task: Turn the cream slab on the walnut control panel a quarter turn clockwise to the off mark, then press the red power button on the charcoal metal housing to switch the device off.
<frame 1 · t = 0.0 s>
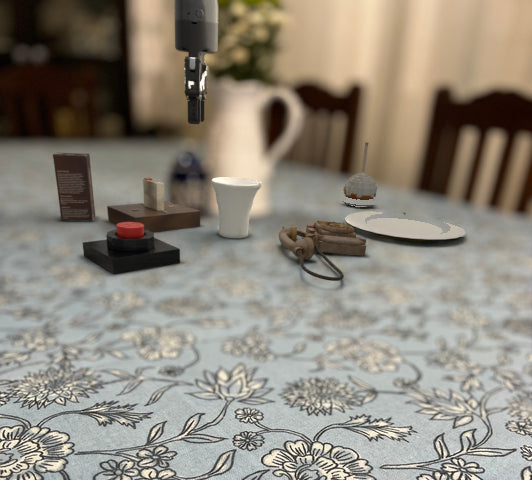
hand: (196, 122, 97), 18 cm above the table, tool pointing down, fingers open, 8 cm apart
cup: (235, 235, 97), on the table
plate: (403, 231, 109), on the table
button: (130, 230, 77), point 4 cm above the table, slide at 0.1 cm
box: (78, 220, 101), on the table
grey candy apple: (358, 206, 132), on the table
housing: (132, 259, 79), on the table
panel: (154, 224, 101), on the table
cream slab: (153, 194, 98), point 6 cm above the table, hinge at 90.0°
telephone: (322, 255, 89), on the table
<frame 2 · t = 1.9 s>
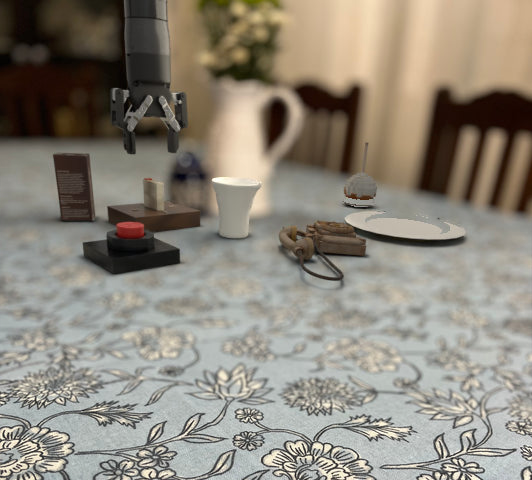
hand: (152, 153, 95), 13 cm above the table, tool pointing down, fingers open, 8 cm apart
nothing on the table moved.
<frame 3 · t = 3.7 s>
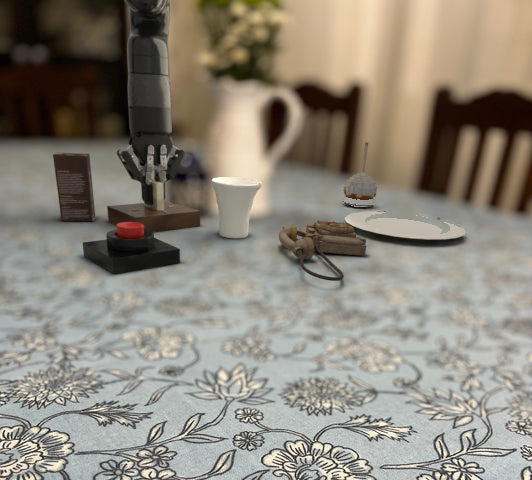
hand: (153, 203, 99), 4 cm above the table, tool pointing down, fingers closed
cream slab: (153, 194, 98), point 6 cm above the table, hinge at 89.9°, touching gripper
everything else where it was.
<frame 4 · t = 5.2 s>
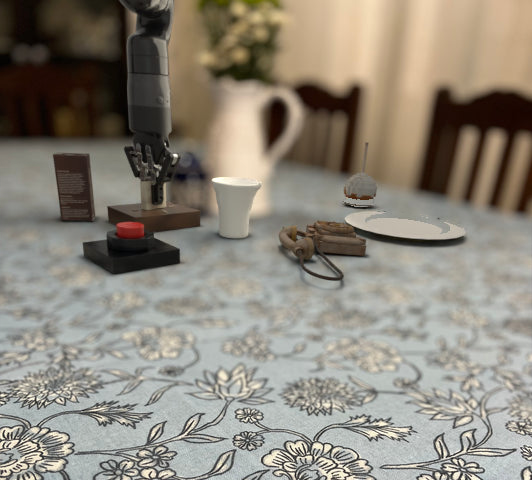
hand: (153, 203, 99), 4 cm above the table, tool pointing down, fingers closed on cream slab
cream slab: (153, 194, 98), point 6 cm above the table, hinge at 11.2°, touching gripper
everything else where it was.
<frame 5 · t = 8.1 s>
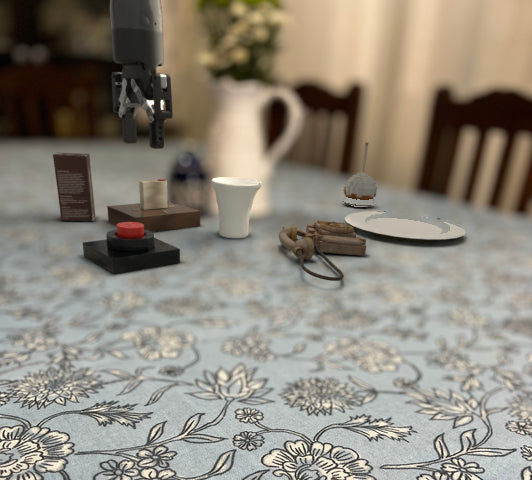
hand: (143, 145, 84), 15 cm above the table, tool pointing down, fingers open, 8 cm apart
cream slab: (153, 194, 98), point 6 cm above the table, hinge at -1.6°
everything else where it was.
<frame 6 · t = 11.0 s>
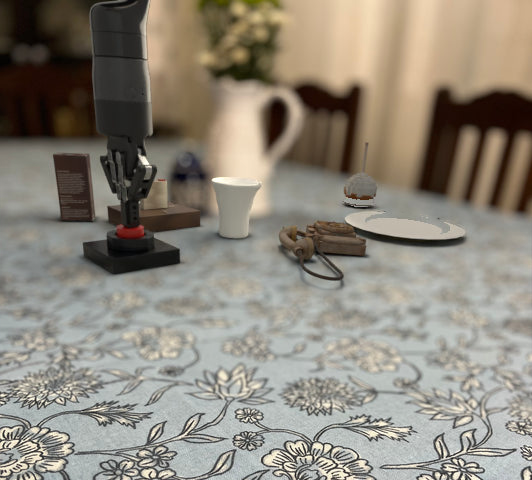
hand: (130, 226, 77), 5 cm above the table, tool pointing down, fingers closed
button: (130, 232, 78), point 4 cm above the table, slide at -0.2 cm, touching gripper
everything else where it was.
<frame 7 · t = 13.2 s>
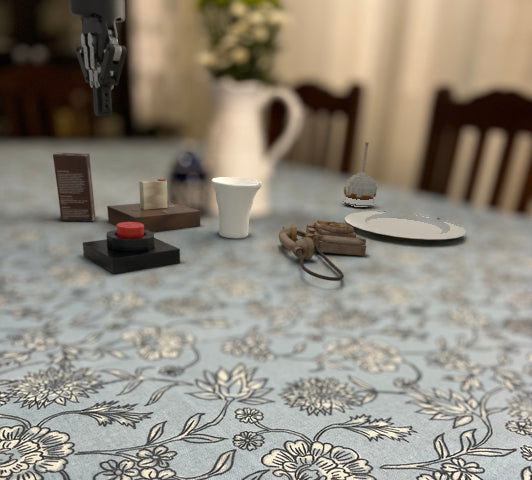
hand: (103, 116, 79), 19 cm above the table, tool pointing down, fingers closed
button: (130, 230, 77), point 4 cm above the table, slide at 0.1 cm
everything else where it was.
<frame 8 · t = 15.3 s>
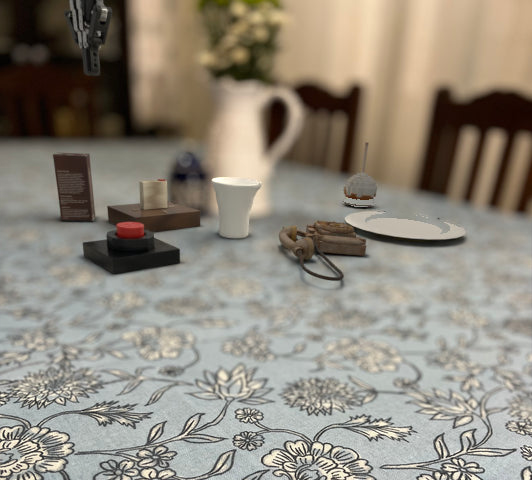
hand: (92, 75, 86), 25 cm above the table, tool pointing down, fingers closed
nothing on the table moved.
at the end: cream slab at -2° (first picture: +90°); button pushed in 1.1 cm at the most during the clip, back to where it started at the end; button slide at 0.1 cm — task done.
